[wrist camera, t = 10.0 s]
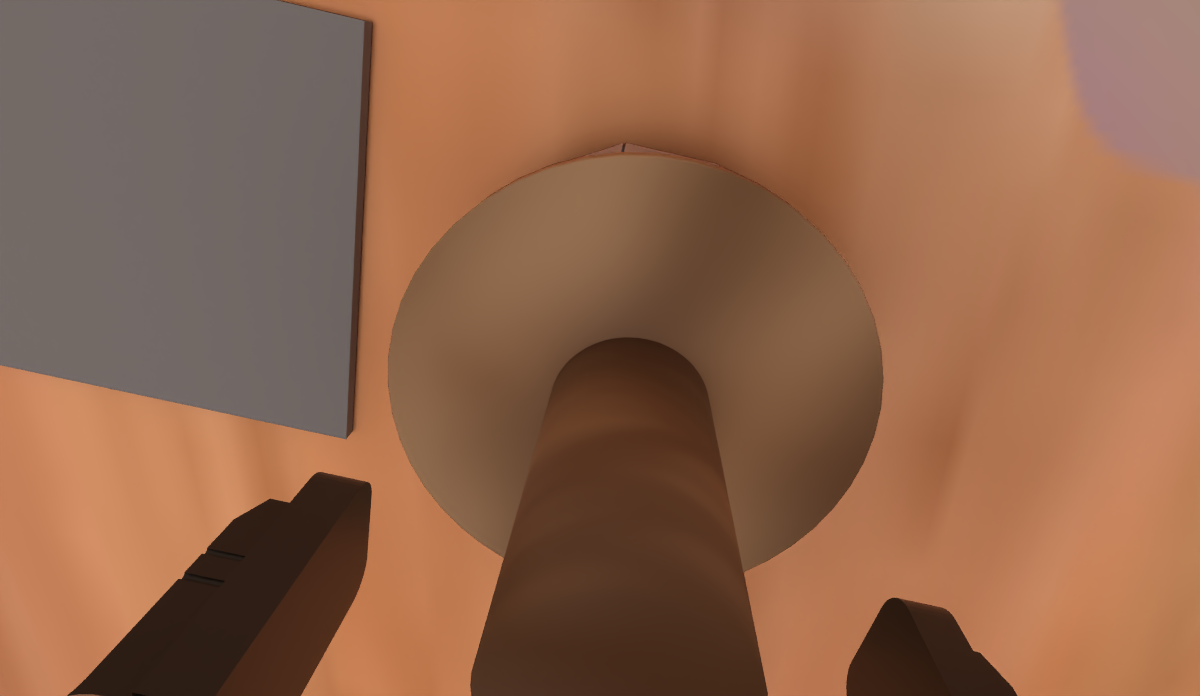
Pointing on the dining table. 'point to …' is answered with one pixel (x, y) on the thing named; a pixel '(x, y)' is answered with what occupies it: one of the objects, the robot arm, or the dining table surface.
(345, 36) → the coaster
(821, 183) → the dining table surface
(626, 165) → the lid
